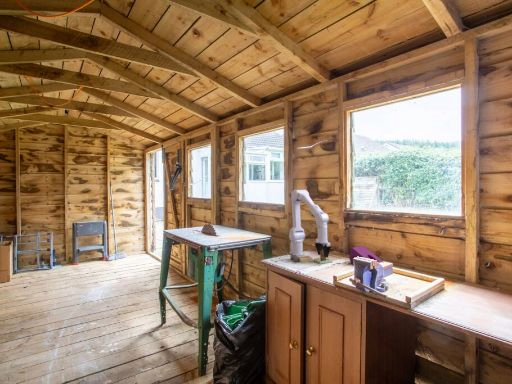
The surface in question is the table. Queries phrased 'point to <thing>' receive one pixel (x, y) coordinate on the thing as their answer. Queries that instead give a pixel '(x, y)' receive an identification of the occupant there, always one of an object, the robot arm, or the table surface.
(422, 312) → the table surface
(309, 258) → the plate
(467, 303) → the table surface
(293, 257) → the dog
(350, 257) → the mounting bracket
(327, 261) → the tray
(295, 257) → the dog
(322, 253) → the dowel
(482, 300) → the table surface
